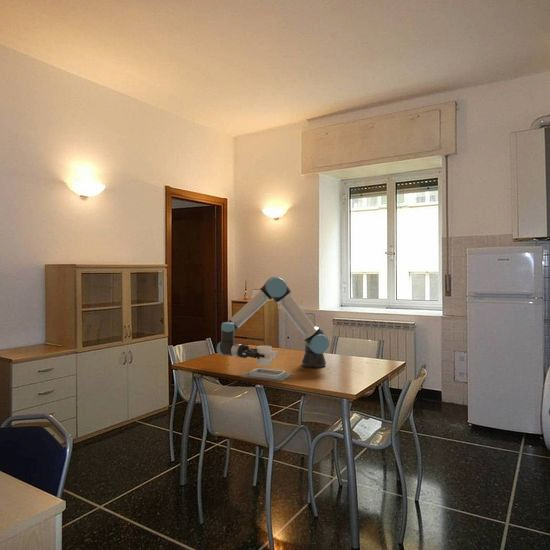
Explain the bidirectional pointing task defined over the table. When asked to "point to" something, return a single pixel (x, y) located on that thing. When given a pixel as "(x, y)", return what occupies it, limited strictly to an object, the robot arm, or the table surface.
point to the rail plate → (267, 375)
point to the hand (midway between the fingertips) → (274, 355)
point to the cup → (268, 351)
